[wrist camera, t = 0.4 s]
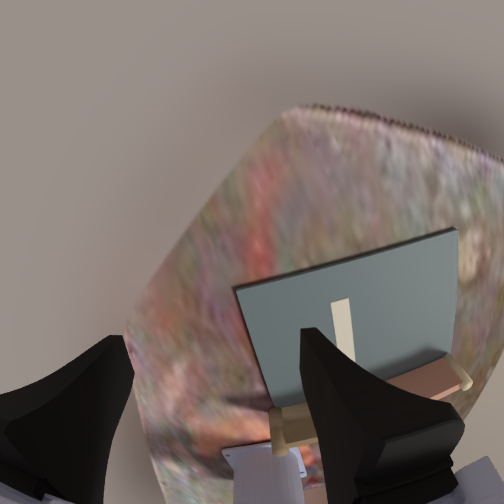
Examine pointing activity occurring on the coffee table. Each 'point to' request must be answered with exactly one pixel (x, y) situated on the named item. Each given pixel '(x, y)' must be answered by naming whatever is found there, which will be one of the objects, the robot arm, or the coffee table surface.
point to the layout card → (358, 312)
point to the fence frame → (290, 428)
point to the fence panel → (434, 379)
